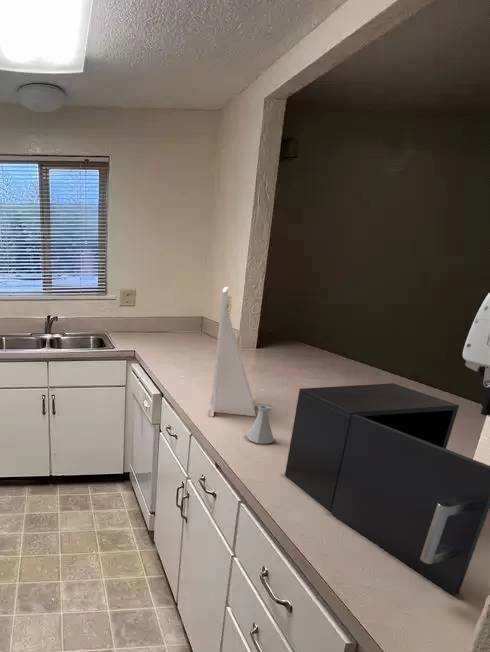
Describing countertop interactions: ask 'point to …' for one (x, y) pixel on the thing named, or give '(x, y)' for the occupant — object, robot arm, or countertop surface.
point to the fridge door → (413, 499)
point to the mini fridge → (334, 422)
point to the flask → (261, 427)
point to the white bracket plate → (229, 371)
